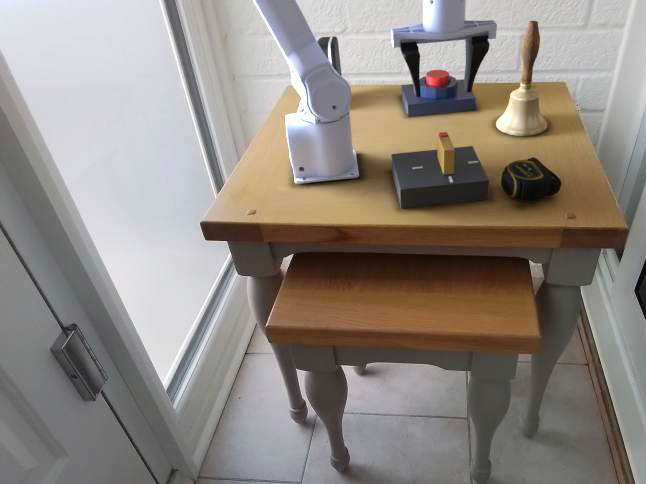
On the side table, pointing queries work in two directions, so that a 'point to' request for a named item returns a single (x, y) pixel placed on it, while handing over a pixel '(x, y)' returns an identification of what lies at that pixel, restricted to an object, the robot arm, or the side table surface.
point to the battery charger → (331, 51)
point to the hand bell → (525, 93)
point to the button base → (437, 98)
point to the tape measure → (529, 180)
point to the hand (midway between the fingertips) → (442, 92)
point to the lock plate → (438, 178)
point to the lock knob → (445, 153)
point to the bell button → (437, 78)
